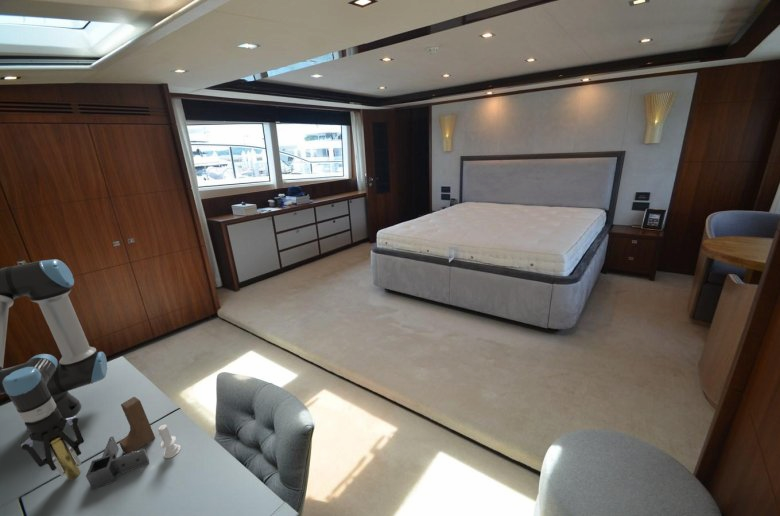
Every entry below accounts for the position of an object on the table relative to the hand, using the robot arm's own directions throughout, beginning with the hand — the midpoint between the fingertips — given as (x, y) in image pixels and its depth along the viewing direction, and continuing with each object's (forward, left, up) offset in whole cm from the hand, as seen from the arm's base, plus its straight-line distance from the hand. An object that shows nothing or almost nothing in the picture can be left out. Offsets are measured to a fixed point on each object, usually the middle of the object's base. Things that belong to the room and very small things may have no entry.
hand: (70, 468), depth 112 cm
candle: (+20, +23, -3) cm, 30 cm away
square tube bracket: (+9, +12, -3) cm, 16 cm away
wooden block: (+6, +17, -3) cm, 19 cm away
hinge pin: (0, 0, -3) cm, 3 cm away
